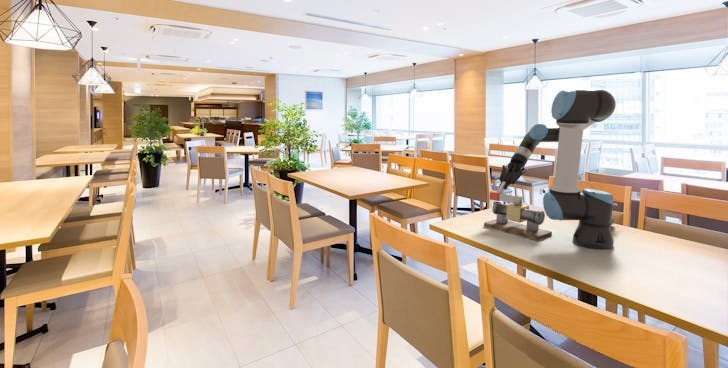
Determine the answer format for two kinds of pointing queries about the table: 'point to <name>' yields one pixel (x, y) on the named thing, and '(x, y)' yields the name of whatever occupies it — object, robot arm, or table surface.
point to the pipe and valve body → (518, 215)
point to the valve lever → (506, 198)
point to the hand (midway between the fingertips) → (499, 193)
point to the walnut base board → (518, 230)
